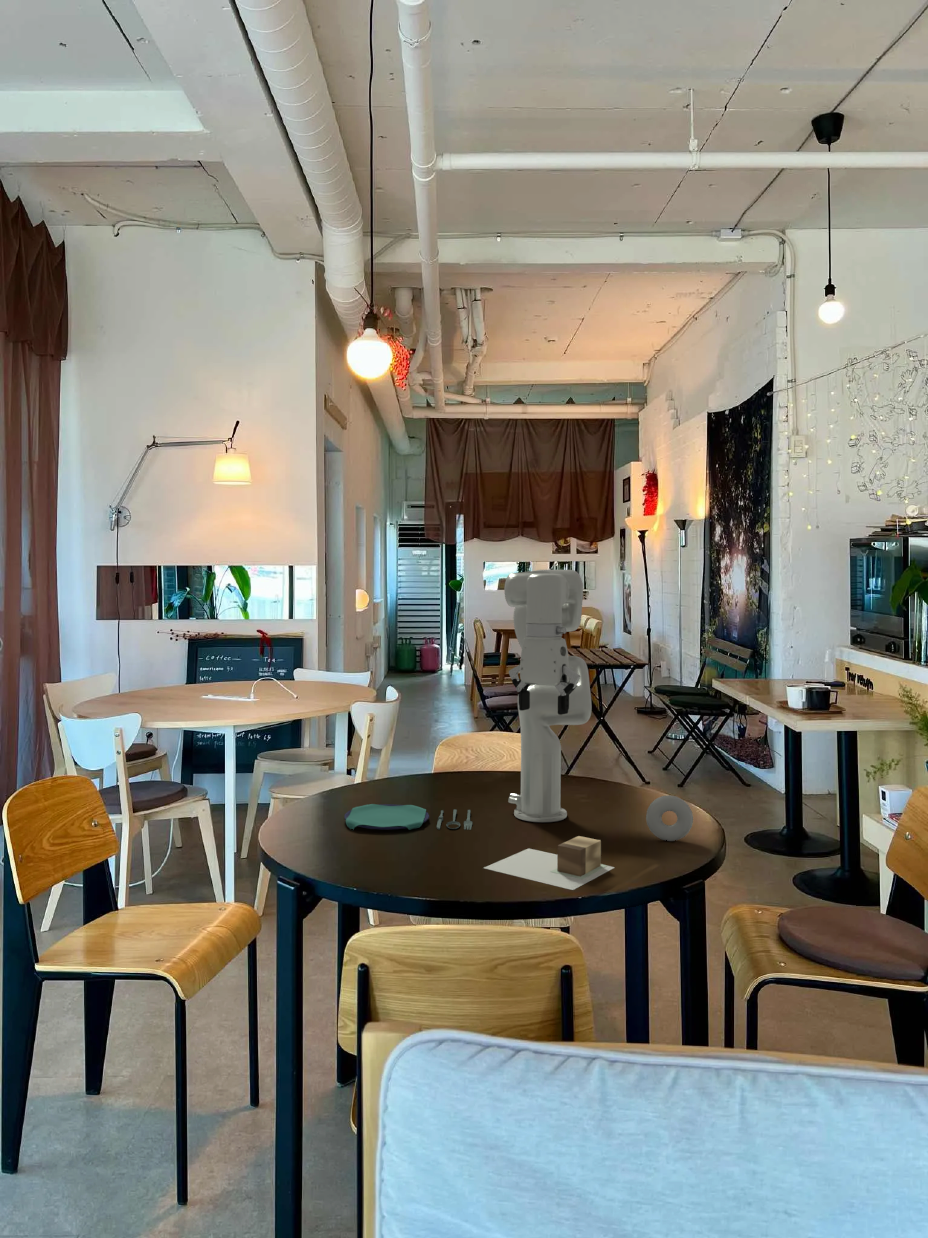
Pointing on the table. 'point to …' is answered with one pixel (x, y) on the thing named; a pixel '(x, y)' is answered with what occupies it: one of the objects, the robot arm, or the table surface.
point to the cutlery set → (394, 817)
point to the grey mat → (543, 869)
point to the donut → (669, 831)
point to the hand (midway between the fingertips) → (543, 711)
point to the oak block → (579, 856)
